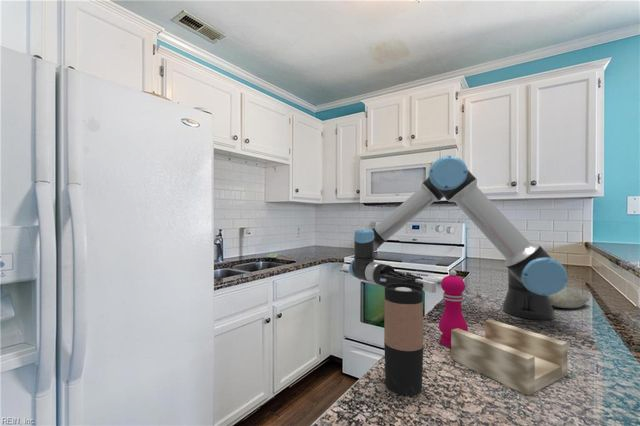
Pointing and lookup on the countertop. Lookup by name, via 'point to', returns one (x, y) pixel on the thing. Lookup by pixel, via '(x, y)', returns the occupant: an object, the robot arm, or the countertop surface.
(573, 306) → the rock
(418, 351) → the travel mug
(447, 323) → the pepper mill
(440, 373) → the countertop surface
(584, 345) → the countertop surface
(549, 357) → the u rest
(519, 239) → the robot arm
